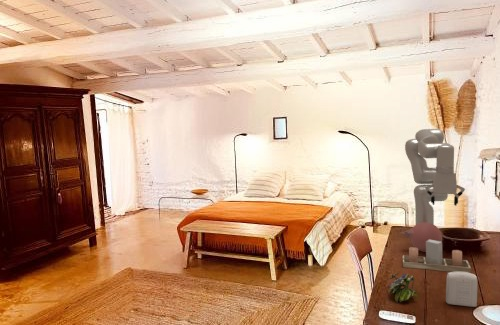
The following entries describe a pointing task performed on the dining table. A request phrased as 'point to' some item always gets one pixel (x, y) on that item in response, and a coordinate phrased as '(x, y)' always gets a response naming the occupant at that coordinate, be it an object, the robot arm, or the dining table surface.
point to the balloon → (422, 235)
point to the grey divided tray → (455, 263)
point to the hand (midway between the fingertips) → (444, 204)
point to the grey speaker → (461, 289)
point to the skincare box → (434, 252)
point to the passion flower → (405, 291)
